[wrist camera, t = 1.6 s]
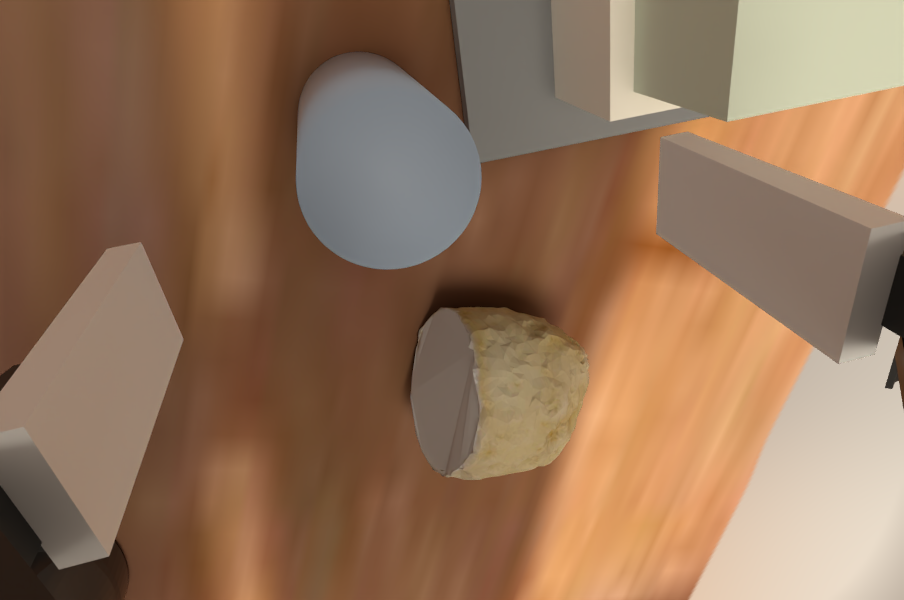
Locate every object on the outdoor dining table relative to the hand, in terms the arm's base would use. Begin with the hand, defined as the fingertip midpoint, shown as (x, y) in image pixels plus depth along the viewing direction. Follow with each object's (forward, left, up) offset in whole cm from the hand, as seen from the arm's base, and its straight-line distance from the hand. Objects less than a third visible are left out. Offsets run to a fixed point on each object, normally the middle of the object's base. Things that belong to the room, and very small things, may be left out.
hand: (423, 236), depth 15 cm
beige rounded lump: (+4, -15, -16) cm, 22 cm away
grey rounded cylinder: (0, 0, -16) cm, 16 cm away
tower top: (+14, +4, -9) cm, 17 cm away
